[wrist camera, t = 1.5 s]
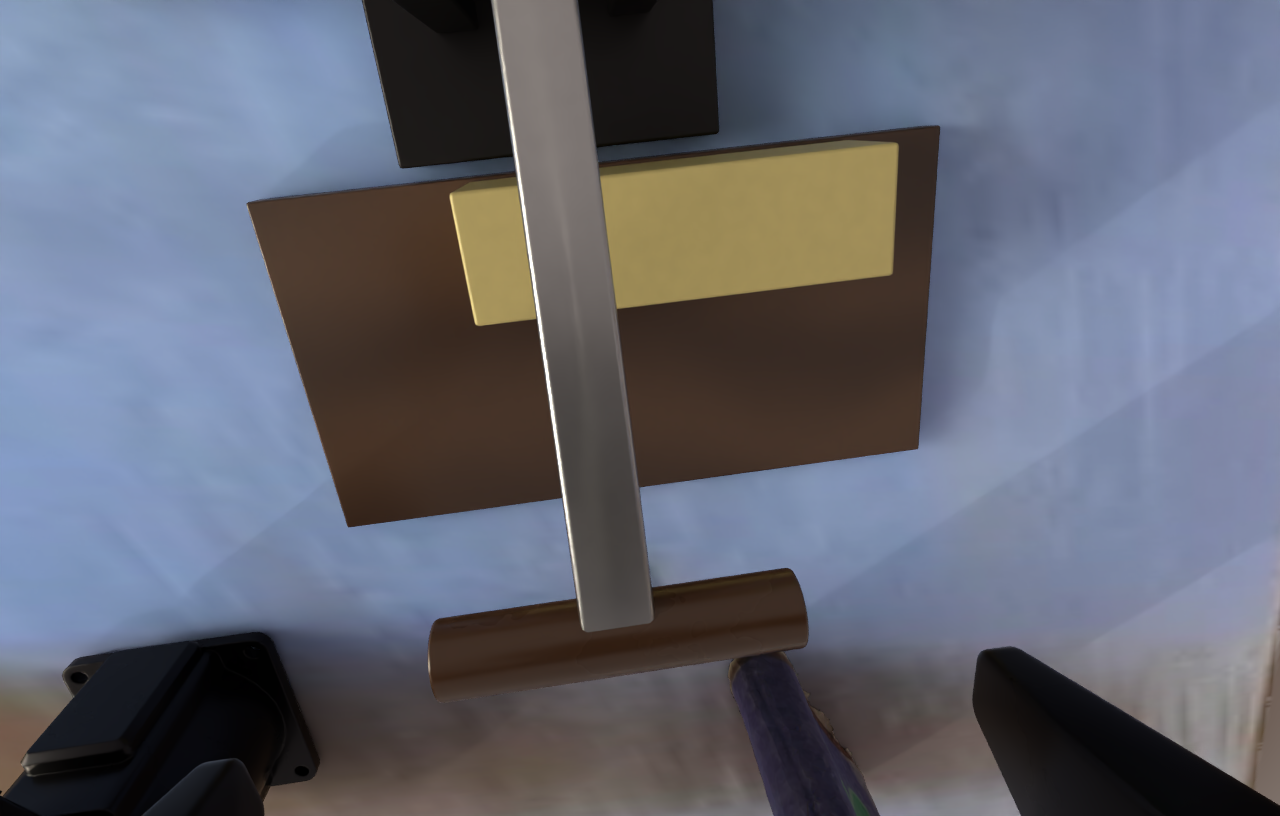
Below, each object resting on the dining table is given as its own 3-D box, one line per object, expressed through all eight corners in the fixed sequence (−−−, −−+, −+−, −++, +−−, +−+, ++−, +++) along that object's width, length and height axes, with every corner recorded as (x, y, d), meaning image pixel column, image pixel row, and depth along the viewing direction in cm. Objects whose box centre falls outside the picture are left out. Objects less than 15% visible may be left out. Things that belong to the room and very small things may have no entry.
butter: (846, 254, 19) (894, 275, 16) (488, 297, 18) (474, 327, 16) (849, 139, 18) (900, 142, 15) (466, 182, 17) (447, 192, 15)
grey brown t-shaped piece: (778, 610, 12) (827, 684, 9) (459, 658, 11) (425, 747, 9) (689, -303, 10) (720, -502, 7) (301, -275, 10) (204, -471, 7)
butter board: (907, 438, 22) (918, 449, 22) (354, 514, 21) (347, 528, 21) (926, 125, 19) (941, 125, 18) (257, 199, 18) (245, 202, 17)
